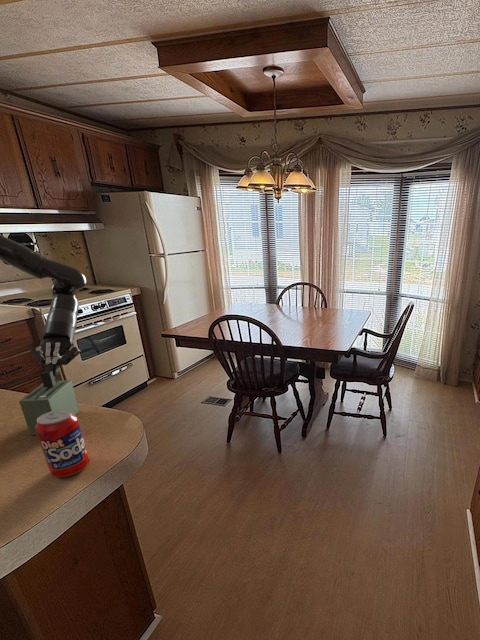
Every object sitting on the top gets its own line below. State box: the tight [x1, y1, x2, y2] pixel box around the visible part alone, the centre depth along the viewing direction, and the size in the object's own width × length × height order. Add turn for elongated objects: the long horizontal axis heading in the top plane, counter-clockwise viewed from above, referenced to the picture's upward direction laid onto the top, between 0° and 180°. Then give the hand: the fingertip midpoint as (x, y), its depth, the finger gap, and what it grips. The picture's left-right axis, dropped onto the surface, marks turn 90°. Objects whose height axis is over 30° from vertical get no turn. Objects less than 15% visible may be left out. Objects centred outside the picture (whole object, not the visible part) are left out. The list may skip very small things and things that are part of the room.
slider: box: [39, 370, 56, 387], centre depth 99 cm, size 2×2×4 cm
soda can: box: [35, 409, 90, 478], centre depth 81 cm, size 8×8×15 cm
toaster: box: [18, 379, 81, 436], centre depth 100 cm, size 13×7×11 cm, turn 11°
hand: (50, 377), depth 100 cm, fingers closed
